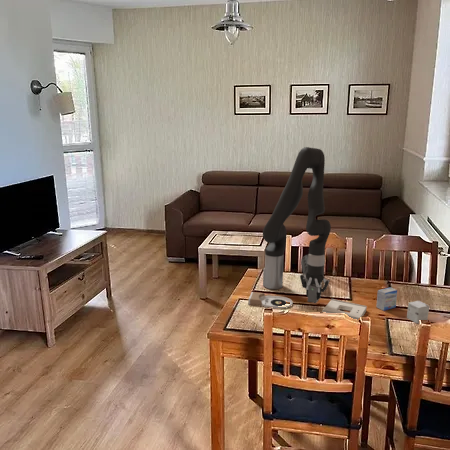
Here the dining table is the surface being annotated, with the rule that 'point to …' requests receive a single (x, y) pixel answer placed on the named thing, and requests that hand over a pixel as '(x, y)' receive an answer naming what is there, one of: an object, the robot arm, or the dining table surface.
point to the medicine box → (386, 298)
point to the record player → (268, 300)
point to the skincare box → (417, 311)
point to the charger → (312, 293)
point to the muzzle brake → (305, 266)
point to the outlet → (345, 308)
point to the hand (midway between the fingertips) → (313, 297)
